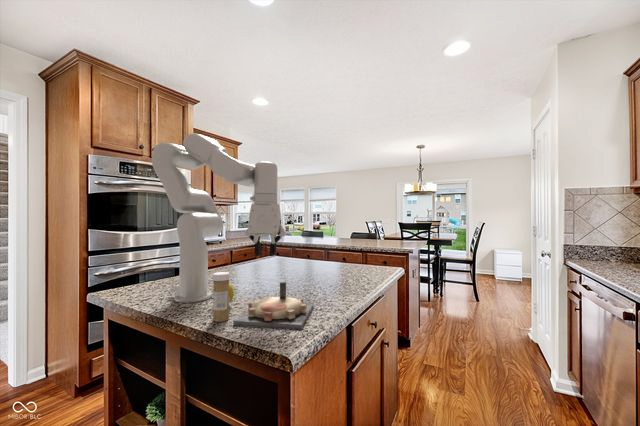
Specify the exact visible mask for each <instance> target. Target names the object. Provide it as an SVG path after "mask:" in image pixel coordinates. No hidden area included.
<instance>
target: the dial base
mask: <svg viewBox="0 0 640 426" xmlns="http://www.w3.org/2000/svg"><path fill="white" fill-rule="evenodd" d="M303 304H306V312H305V313H300V314H298V315H296V316H295V318H293V319H288V318H283V319H272V320H271V321H264V318H259V317H256V316H254V317H250V316H248V309H247V310H245V311H244V312H243V313H241V314H240V315H239V316H238V317H236V318H235V319H234V320H233V323H232V324H233V326H239V327H241V326H242V327H255V328H256V327H257V328H270V329H272V328H273V329H290V330H302V329H303V327H304V325H305V323H306V322H307V320H308V318H309V316H310V314H311V313H312V311H313V310H314V308H315V305H314V302H312V303H311V302H303Z"/></svg>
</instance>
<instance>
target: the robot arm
mask: <svg viewBox="0 0 640 426" xmlns="http://www.w3.org/2000/svg"><path fill="white" fill-rule="evenodd" d="M182 144H183V145H180V144H176V143H173V142H159V143H158V144H156V145H155V146H154V148H153V150H152V153H151V165H152V167H153V170H154V173H155V175H156V176H157V178H158V179H159V181H160V183H161V184H162V186H163V189H164V190H165V193H166V195H167V198H168V200H169V202H170V205H171V207H172V208H173V210H174V211H175V212H177V213H179V214H182V215H180V216H179V218H178V219H177V221H176V231H177V235H178V241H179V242H178V243H179V269H178V270H179V274H178V278H179V279H178V282H179V283H178V284H179V285H173V286H171V288H170V289H169V291H170V293H176V294H175V295H174V297H173V298H174V299H173V301H175V302H176V303H184V304H187V303H189V304H190V303H199V302H202V301H206V300H209V299H210V298H213V292H211V291H208V284H209V283H208V280H209V279H208V278H209V277H208V274H209V272H208V267H209V266H208V265H209V263H208V262H209V257H208V256H209V249H208V245H207V242H206V240H205V238H211V237H212V238H213V237H217V236H219V235H220V234H221V232H222V231H223V228H224V221H223V218H222V216H221V213H220V212H219V211H220V210H218V207H217V205H216V204H215V201H214V200H213V198H212V196H211V195H210V193H208V192H207V191H204V190H201V189H195V188H192V187H191V185H190V184H189V182H188V180H187V177H186V176H185V175H184V173H183V172H181V170H179V169H178V168H180V169H185V170H196V169H200V168H202V167H204V166H208V167H209V168H210V170H211V171H212V173H214V174H215V175H216V176H218V177H219V178H220V179H223V180H225V181H226V182H228V183H231V184H233V185H234V184H235V185H241V186H245V187H253V191H254V192H253V193H254V194H253V196H250V197H249V200H250V201H252V202H253V203H252V204H251V205H250V208H249V209H250V210H249V217H248V228H247V229H246V230H245V232H244V235H245V236H246V237H248V238H249V239H250V240H251V241H252V242H253V244H254V253H255V257H259V256H261V255H262V243H261V237H262V235H270V241H271V242H270V243H269V256H270V257H273V256H274V257H275V255H276V253H277V243H278V242H279V241H280V240H281V239H282V238H284V237H285V236H287V231H286V230H285V229H284V227H283V225H282V224H283V223H282V214H281V208H280V204H279V203H278V165H277V164H276V163H275V162H272V161H258V162H256V163H255V165H254V164H251V163H250V164H249V163H247V162H244V161H241V160H238V159H236V158H233V157H232V156H230V155H229V154H228V151H227V149H226V148H225V147H223V146H222V145H221V143H219V142H218V140H215V139H214V138H211V137H208V136H205V135H203V134H199V133H189V134H187V135H186V136H185V137H184V139H183V143H182Z"/></svg>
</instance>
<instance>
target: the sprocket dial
mask: <svg viewBox="0 0 640 426" xmlns="http://www.w3.org/2000/svg"><path fill="white" fill-rule="evenodd" d="M303 303H304V299H303V298H301V297H300V298H296V297H290V296H288V295H287V282H286V281H281V282H279V296H272V297H269V296H264V297H261V299H258V300H256V301H249V302H248V309H247V310H248V316H250V317H254V316H256V317H259V318H264V321H271V320H272V319H283V318H288V319H293V318H295V316H296V315H298V314H300V313H305V312H306V304H303Z"/></svg>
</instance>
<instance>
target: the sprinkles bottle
mask: <svg viewBox="0 0 640 426" xmlns="http://www.w3.org/2000/svg"><path fill="white" fill-rule="evenodd" d="M230 279H231V278H230V272H229V271H219V272H218V271H217V272H214V273H213V274H212V281H213V286H212V287H213V292H212V298H213V299H212V310H213V311H212V313H213V315H212V317H213V318H212V321H213V322H217V323H222V322H223V323H224V322H226V321H228V320H229V319H230V303H229V284H230Z"/></svg>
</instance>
